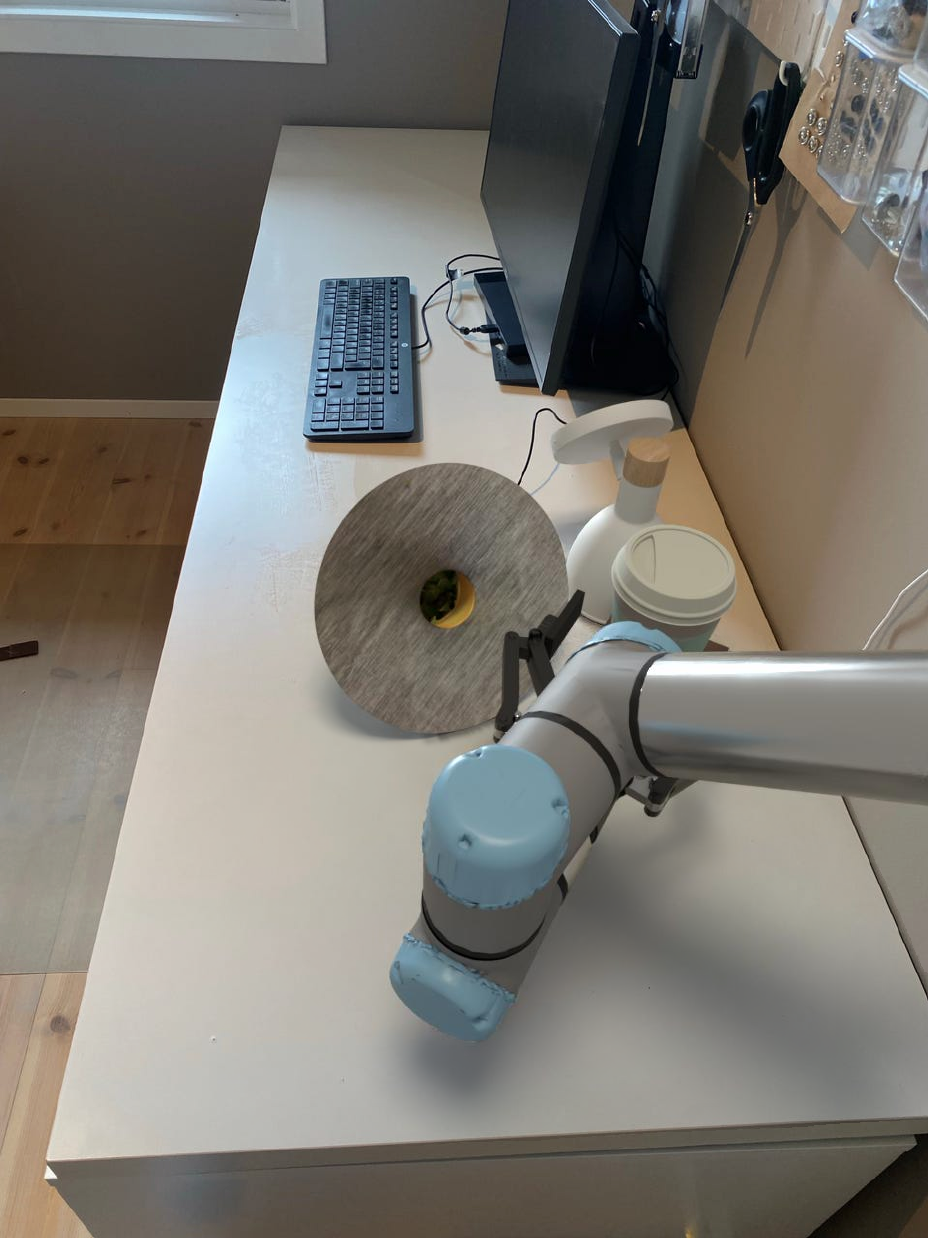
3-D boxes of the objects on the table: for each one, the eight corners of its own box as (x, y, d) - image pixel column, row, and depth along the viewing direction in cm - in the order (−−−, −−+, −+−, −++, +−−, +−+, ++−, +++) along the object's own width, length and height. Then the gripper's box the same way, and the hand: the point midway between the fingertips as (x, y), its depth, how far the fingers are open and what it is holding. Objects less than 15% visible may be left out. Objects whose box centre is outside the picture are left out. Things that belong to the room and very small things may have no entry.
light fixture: (563, 647, 102) (636, 617, 83) (519, 471, 104) (579, 402, 85) (664, 624, 105) (756, 591, 86) (618, 454, 107) (698, 384, 88)
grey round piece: (550, 658, 102) (480, 447, 98) (618, 678, 85) (536, 425, 81) (344, 744, 96) (260, 523, 92) (373, 784, 80) (272, 516, 76)
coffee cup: (628, 619, 92) (658, 502, 81) (721, 673, 87) (766, 558, 76) (566, 678, 86) (591, 561, 75) (663, 740, 81) (703, 625, 71)
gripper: (394, 772, 70) (517, 607, 83) (701, 929, 62) (782, 719, 76) (393, 712, 65) (525, 546, 78) (730, 875, 57) (812, 660, 70)
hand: (652, 631), depth 77 cm, fingers open, 13 cm apart
